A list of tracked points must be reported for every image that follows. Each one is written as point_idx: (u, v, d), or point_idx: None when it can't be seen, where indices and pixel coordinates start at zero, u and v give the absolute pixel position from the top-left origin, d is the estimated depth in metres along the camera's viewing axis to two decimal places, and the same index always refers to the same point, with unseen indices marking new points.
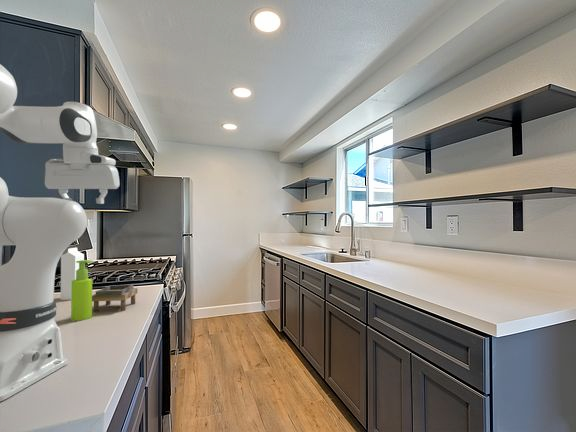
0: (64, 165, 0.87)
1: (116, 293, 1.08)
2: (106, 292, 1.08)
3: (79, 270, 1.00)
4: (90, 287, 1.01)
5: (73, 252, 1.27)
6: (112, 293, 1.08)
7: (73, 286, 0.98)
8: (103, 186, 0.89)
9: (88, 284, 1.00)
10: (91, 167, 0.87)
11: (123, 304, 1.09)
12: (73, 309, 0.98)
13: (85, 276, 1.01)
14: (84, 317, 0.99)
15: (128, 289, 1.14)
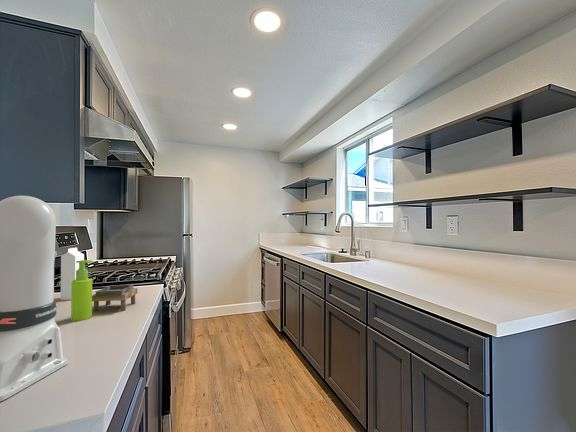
0: None
1: (116, 293, 1.08)
2: (106, 292, 1.08)
3: (79, 270, 1.00)
4: (90, 287, 1.01)
5: (73, 252, 1.27)
6: (112, 293, 1.08)
7: (73, 286, 0.98)
8: None
9: (88, 284, 1.00)
10: None
11: (123, 304, 1.09)
12: (73, 309, 0.98)
13: (85, 276, 1.01)
14: (84, 317, 0.99)
15: (128, 289, 1.14)
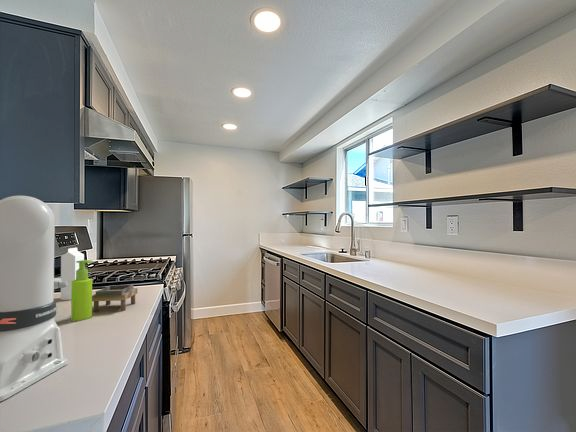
0: None
1: (116, 293, 1.08)
2: (106, 292, 1.08)
3: (79, 270, 1.00)
4: (90, 287, 1.01)
5: (73, 252, 1.27)
6: (112, 293, 1.08)
7: (73, 286, 0.98)
8: None
9: (88, 284, 1.00)
10: None
11: (123, 304, 1.09)
12: (73, 309, 0.98)
13: (85, 276, 1.01)
14: (84, 317, 0.99)
15: (128, 289, 1.14)
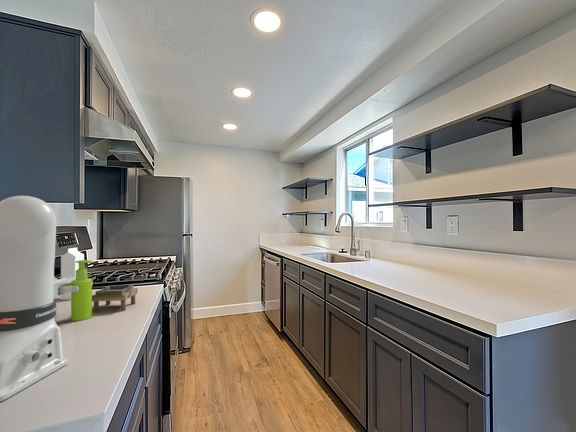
0: None
1: (116, 293, 1.08)
2: (106, 292, 1.08)
3: (78, 270, 1.00)
4: (90, 287, 1.01)
5: (73, 252, 1.27)
6: (112, 293, 1.08)
7: None
8: (55, 296, 0.94)
9: (87, 284, 1.00)
10: None
11: (123, 304, 1.09)
12: (73, 309, 0.98)
13: (85, 276, 1.00)
14: (84, 317, 0.99)
15: (128, 289, 1.14)
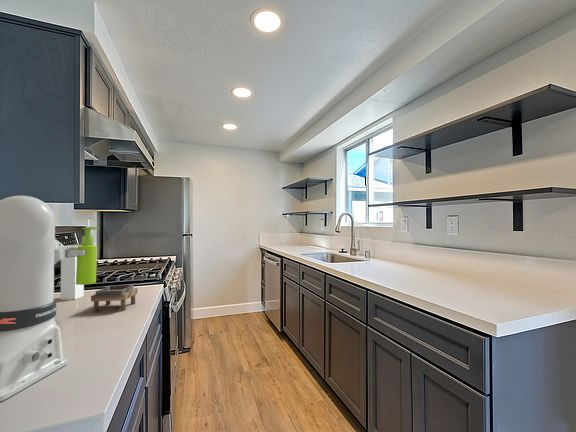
0: None
1: (116, 293, 1.08)
2: (106, 292, 1.08)
3: (85, 236, 1.03)
4: (95, 253, 1.04)
5: None
6: (112, 293, 1.08)
7: None
8: None
9: (93, 249, 1.03)
10: None
11: (123, 304, 1.09)
12: (78, 273, 1.01)
13: (90, 242, 1.04)
14: (88, 281, 1.02)
15: (128, 289, 1.14)
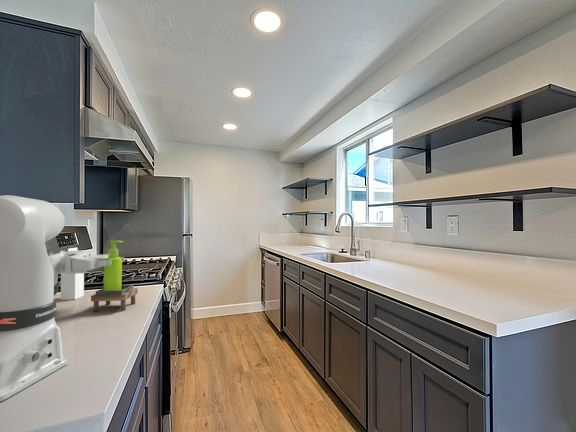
0: None
1: (116, 293, 1.08)
2: (106, 292, 1.08)
3: (111, 249, 1.11)
4: (120, 265, 1.12)
5: None
6: (112, 293, 1.08)
7: None
8: (93, 268, 1.06)
9: (118, 261, 1.11)
10: None
11: (123, 304, 1.09)
12: (106, 284, 1.09)
13: (116, 254, 1.12)
14: None
15: (128, 289, 1.14)
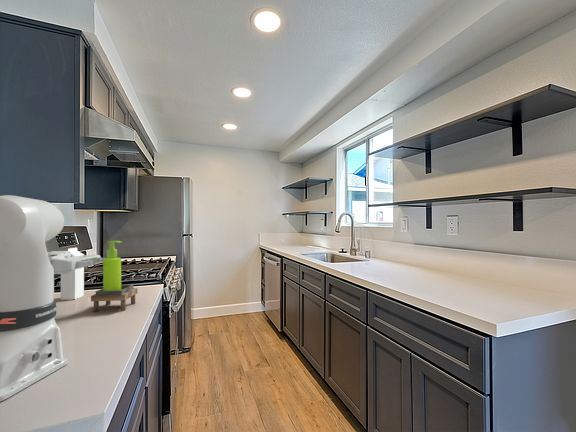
0: None
1: (116, 293, 1.08)
2: (106, 292, 1.08)
3: (109, 249, 1.11)
4: (119, 265, 1.12)
5: (73, 252, 1.27)
6: (112, 293, 1.08)
7: (105, 263, 1.09)
8: (74, 269, 1.06)
9: (117, 262, 1.11)
10: None
11: (123, 304, 1.09)
12: (105, 284, 1.09)
13: (115, 255, 1.11)
14: None
15: (128, 289, 1.14)
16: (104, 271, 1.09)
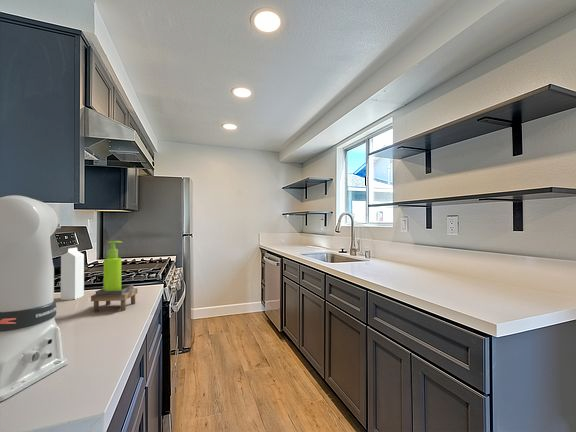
0: None
1: (116, 293, 1.08)
2: (106, 292, 1.08)
3: (110, 249, 1.11)
4: (120, 265, 1.12)
5: (73, 252, 1.27)
6: (112, 293, 1.08)
7: (105, 263, 1.09)
8: None
9: (118, 262, 1.11)
10: None
11: (123, 304, 1.09)
12: (105, 284, 1.09)
13: (115, 255, 1.11)
14: None
15: (128, 289, 1.14)
16: (104, 271, 1.09)
